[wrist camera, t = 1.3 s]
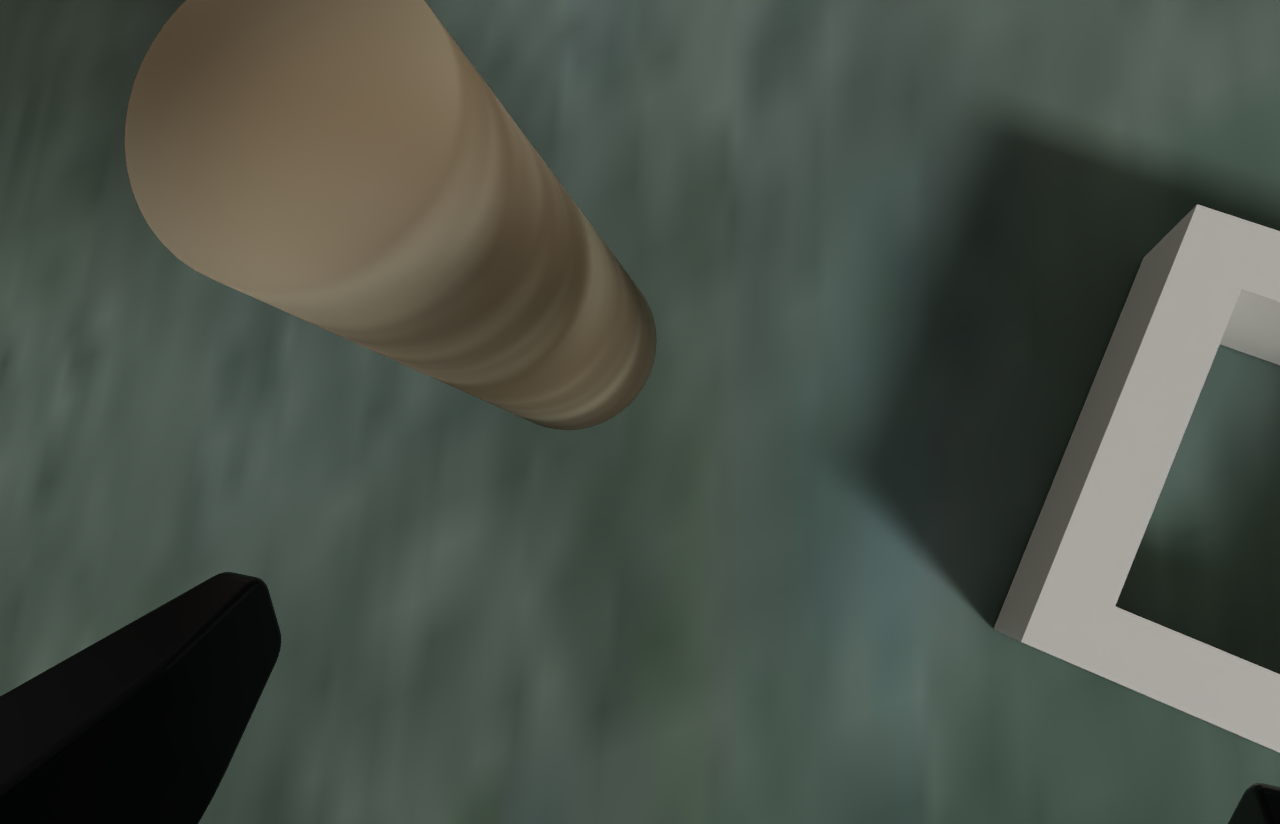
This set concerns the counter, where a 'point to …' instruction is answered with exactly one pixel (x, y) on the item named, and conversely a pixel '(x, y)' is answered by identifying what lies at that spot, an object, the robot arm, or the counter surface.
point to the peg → (382, 201)
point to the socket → (1151, 475)
